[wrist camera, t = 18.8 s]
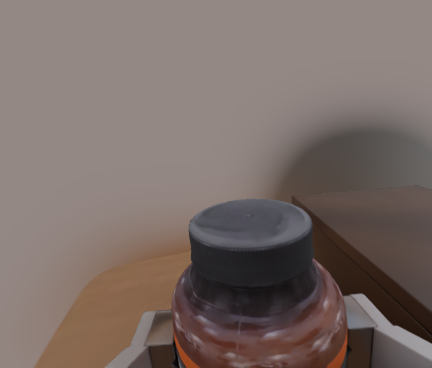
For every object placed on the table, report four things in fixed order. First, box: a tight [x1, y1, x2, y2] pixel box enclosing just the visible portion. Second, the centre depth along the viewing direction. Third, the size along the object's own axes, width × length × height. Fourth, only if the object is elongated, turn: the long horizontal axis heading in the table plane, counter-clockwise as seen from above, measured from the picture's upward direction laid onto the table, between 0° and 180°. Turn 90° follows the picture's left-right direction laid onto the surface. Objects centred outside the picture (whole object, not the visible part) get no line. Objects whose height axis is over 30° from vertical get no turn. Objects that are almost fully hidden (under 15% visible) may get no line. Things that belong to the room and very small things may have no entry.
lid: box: [292, 185, 432, 334], centre depth 14 cm, size 15×12×1 cm
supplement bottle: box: [172, 199, 348, 368], centre depth 9 cm, size 6×6×11 cm
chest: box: [312, 223, 432, 344], centre depth 15 cm, size 14×12×8 cm
